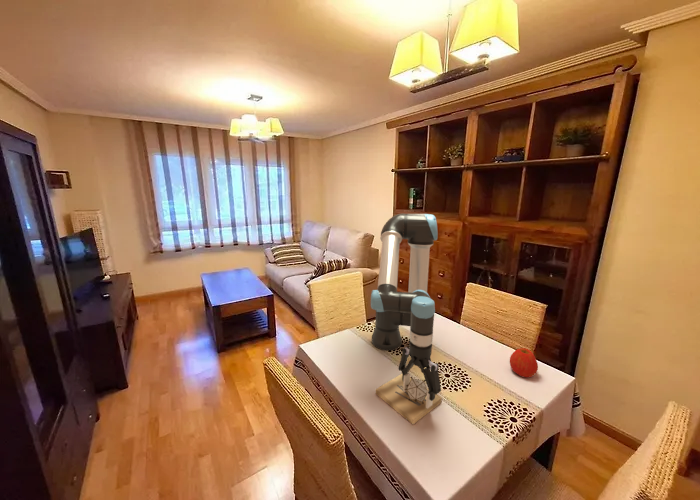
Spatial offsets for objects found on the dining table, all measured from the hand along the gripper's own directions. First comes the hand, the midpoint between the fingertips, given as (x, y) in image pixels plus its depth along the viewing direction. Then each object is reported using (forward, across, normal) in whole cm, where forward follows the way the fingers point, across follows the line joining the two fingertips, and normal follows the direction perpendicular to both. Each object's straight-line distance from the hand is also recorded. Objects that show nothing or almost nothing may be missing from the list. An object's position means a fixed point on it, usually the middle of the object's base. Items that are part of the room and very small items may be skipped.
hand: (417, 397), depth 101 cm
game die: (+1, 0, 0) cm, 1 cm away
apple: (+3, +16, +50) cm, 52 cm away
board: (+3, -4, 0) cm, 5 cm away
